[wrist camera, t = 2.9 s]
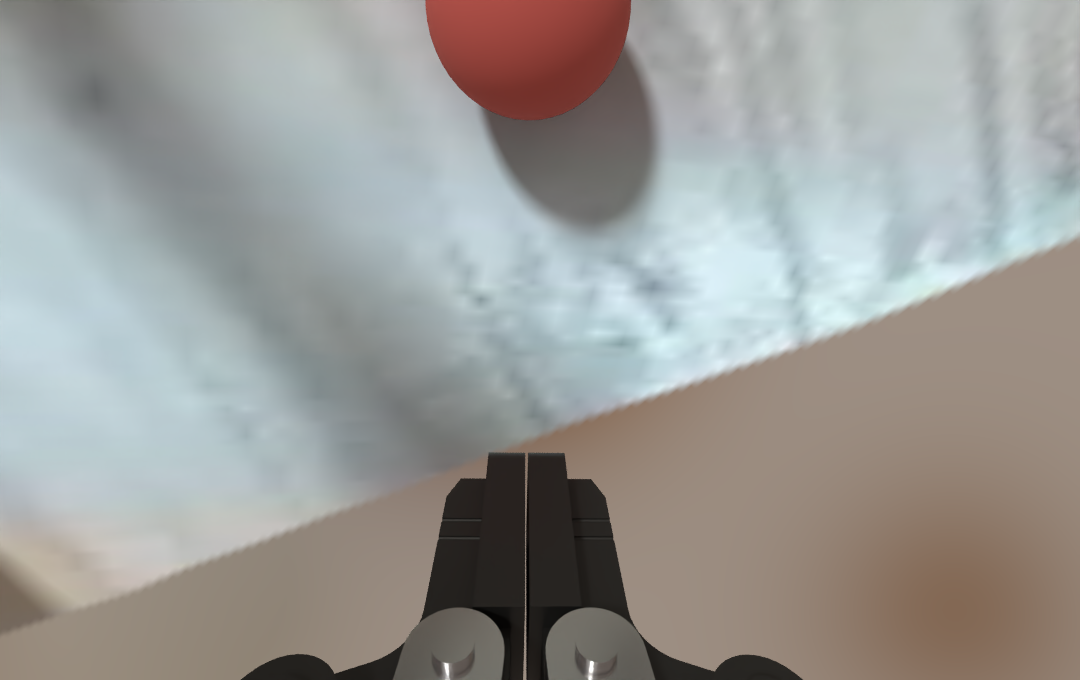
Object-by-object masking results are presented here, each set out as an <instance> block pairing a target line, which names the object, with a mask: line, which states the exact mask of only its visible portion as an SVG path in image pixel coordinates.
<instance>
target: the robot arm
mask: <svg viewBox="0 0 1080 680" xmlns="http://www.w3.org/2000/svg"><path fill="white" fill-rule="evenodd" d="M526 612H527V613H526V614H527V615H526V637H527V638H526V643H527V644H526V648H527V650H526V651H527V652H526V654H527V655H526V660H527V661H526V662H527V663H526V664H527V667H526V668H527V669H526V671H527V672H526V673H527V678H526V679H527V680H802V679H801V678H800V677H799V676H798V675H796V674H795V673H794V672H792V671H791V670H789V669H788V668H787V667H785V666H783V665H781V664H779V663H778V662H776V661H773V660H771V659H768V658H765V657H761V656H756V655H739V656H735V657H732V658H730V659H727V660H725V661H724V662H723V663H722V664H721V665H720V666H719V667H718V668H717V669H716V671H715V672H714V671H711V670H707V669H704V668H701V667H698V666H695V665H691V664H688V663H685V662H682V661H679V660H676V659H674V658H671V657H669V656H667V655H665V654H663V653H661V652H660V651H658V650H657V649H655V648H654V647H653V646H651V645H650V644H649V643H648V642H647V641H646V640H645V639H644V638H643V637H642V636H641V634H640V633H639V632H638V631H637V629H636V627H635V626H634V624H633V622H632V620H631V618H630V615H629V611H628V607H627V602H626V597H625V592H624V587H623V582H622V578H621V572H620V567H619V562H618V558H617V552H616V548H615V543H614V541H613V533H612V528H611V523H610V518H609V513H608V508H607V503H606V498H605V496H604V495H603V494H602V493H601V491H600V490H599V489H598V487H597V486H596V485H595V484H594V482H593V481H592V480H591V479H567V471H566V462H565V454H564V453H528V480H527V524H526ZM524 621H525V453H489V456H488V466H487V475H486V479H460V481H459V482H458V483H457V484H456V486H455V487H454V488H453V489H452V491H451V492H450V493H449V494H448V496H447V498H446V502H445V507H444V513H443V517H442V522H441V527H440V533H439V540H438V542H437V547H436V552H435V557H434V562H433V567H432V572H431V577H430V582H429V588H428V592H427V597H426V602H425V607H424V611H423V615H422V618H421V620H420V622H419V624H418V625H417V626H416V627H415V628H414V629H413V630H412V631H411V633H410V634H409V636H408V638H407V639H406V641H405V642H404V643H403V644H402V645H401V646H400V647H399V648H397V649H396V650H395V651H393V652H392V653H390V654H388V655H387V656H385V657H383V658H381V659H379V660H376V661H373V662H371V663H367V664H364V665H361V666H358V667H355V668H351V669H348V670H345V671H342V672H339V673H336V674H334V672H333V670H332V669H331V668H330V666H329V665H328V664H327V663H325V662H324V661H323V660H321V659H319V658H317V657H315V656H310V655H304V654H295V655H287V656H283V657H279V658H276V659H274V660H271V661H269V662H267V663H265V664H263V665H261V666H259V667H258V668H256V669H255V670H253V671H252V672H250V673H249V674H247V675H246V676H245V677H244V678H242V679H241V680H523V661H524Z"/></svg>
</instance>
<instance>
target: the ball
mask: <svg viewBox="0 0 1080 680" xmlns="http://www.w3.org/2000/svg"><path fill="white" fill-rule="evenodd" d="M630 12H631V0H426V14H427V22H428V27H429V31H430V36H431V39H432V42H433V44H434V47H435V50H436V52H437V54H438V57H439V59H440V61H441V63H442V65H443V66H444V68H445V69H446V71H447V73H448V74H449V76H450V77H451V78H452V80H453V81H454V82H455V83H456V84H457V86H458V87H459V88H460V89H461V90H462V91H463V92H464V93H465V94H466V95H467V96H468V97H469V98H471V99H472V100H473V101H475V102H476V103H477V104H479V105H480V106H482V107H484V108H486V109H487V110H489V111H491V112H494V113H496V114H499V115H501V116H504V117H508V118H513V119H520V120H540V119H546V118H551V117H554V116H557V115H560V114H563V113H565V112H567V111H569V110H571V109H573V108H575V107H576V106H578V105H579V104H581V103H582V102H584V101H585V100H586V99H587V98H589V97H590V96H591V95H592V94H593V93H594V92H595V91H596V90H597V89H598V88H599V87H600V86H601V85H602V84H603V82H604V81H605V80H606V78H607V77H608V75H609V74H610V73H611V71H612V70H613V68H614V66H615V64H616V62H617V60H618V58H619V56H620V53H621V51H622V48H623V46H624V43H625V39H626V35H627V31H628V27H629V20H630Z"/></svg>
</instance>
